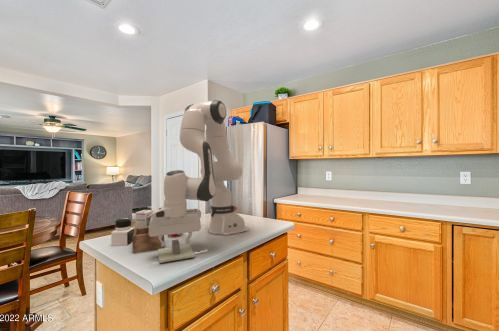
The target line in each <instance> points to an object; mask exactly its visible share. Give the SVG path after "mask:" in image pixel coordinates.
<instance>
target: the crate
mask: <svg viewBox="0 0 499 331" xmlns="http://www.w3.org/2000/svg"><path fill="white" fill-rule="evenodd" d="M161 239H162V240H163V241H165V235H163V236H162V238H161ZM161 248H165V246H163V247H161V242H160V240H159V239H158V236H154V237H150V236H149V227H145V228H136V227H135V228H134V233H133V242H132V254H138V253H144V252H145V253H146V252H151V251H158V249H161Z"/></svg>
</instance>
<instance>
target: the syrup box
mask: <svg viewBox="0 0 499 331" xmlns="http://www.w3.org/2000/svg"><path fill="white" fill-rule="evenodd" d="M153 210H154V209H153ZM153 210H152V209H143V210H140V211H136V212H135V229H136V228H145V227H149V223H150V219H151V218H152V211H153Z"/></svg>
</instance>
